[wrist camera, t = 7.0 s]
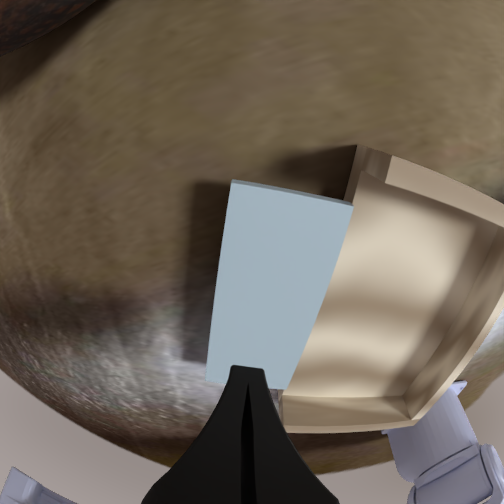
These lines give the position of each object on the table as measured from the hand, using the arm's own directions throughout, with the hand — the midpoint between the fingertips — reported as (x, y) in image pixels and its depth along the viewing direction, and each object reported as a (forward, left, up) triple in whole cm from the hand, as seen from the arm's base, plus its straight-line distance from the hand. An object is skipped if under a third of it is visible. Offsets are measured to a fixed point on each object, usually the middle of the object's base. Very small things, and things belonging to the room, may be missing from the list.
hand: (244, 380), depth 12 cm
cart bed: (0, -11, -7) cm, 13 cm away
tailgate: (0, -4, -6) cm, 7 cm away
